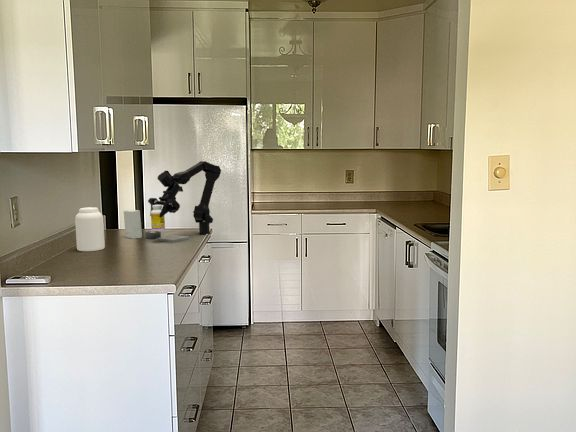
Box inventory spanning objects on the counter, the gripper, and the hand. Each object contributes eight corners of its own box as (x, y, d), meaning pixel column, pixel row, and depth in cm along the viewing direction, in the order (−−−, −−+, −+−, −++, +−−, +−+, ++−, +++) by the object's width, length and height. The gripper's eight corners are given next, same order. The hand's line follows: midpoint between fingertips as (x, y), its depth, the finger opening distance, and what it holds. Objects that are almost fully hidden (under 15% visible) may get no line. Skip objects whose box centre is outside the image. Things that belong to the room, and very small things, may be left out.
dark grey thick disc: (145, 237, 292) (145, 231, 291) (161, 236, 293) (160, 230, 293) (144, 239, 284) (144, 233, 283) (160, 238, 285) (160, 232, 285)
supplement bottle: (161, 231, 270) (160, 205, 268) (149, 231, 271) (147, 205, 269) (167, 229, 276) (165, 204, 275) (155, 229, 278) (153, 204, 276)
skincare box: (142, 237, 289) (141, 210, 288) (132, 239, 285) (130, 211, 283) (134, 236, 295) (133, 209, 294) (124, 237, 291) (123, 210, 289)
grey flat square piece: (174, 237, 290) (174, 234, 290) (189, 238, 283) (189, 236, 283) (156, 240, 281) (156, 238, 281) (172, 242, 274) (172, 239, 274)
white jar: (104, 250, 253) (102, 208, 250) (76, 252, 249) (73, 209, 247) (105, 246, 265) (102, 205, 262) (77, 248, 261) (75, 207, 258)
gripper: (192, 203, 279) (177, 227, 272) (167, 201, 290) (152, 225, 282) (180, 189, 271) (164, 214, 264) (155, 188, 282) (139, 212, 275)
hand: (155, 216), depth 272 cm, fingers closed on supplement bottle, 7 cm apart
